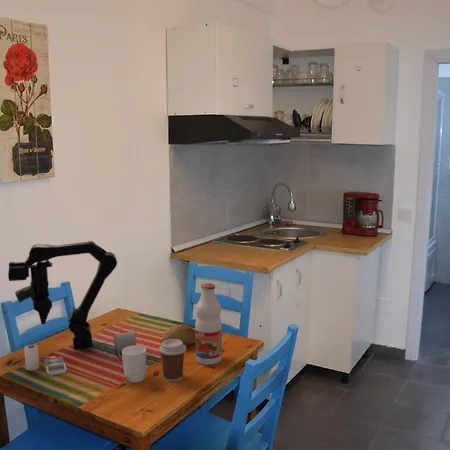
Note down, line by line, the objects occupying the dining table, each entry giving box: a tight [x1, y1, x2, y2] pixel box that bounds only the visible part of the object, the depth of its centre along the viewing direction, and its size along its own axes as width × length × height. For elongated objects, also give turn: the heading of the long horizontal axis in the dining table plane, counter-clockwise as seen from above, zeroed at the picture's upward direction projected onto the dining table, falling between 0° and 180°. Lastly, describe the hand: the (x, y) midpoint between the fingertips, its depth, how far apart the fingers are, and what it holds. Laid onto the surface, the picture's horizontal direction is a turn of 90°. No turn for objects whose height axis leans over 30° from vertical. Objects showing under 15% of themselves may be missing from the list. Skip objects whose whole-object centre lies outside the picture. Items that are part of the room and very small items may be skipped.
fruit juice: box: [194, 282, 223, 366], centre depth 193 cm, size 9×9×28 cm
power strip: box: [43, 355, 68, 377], centre depth 187 cm, size 15×6×2 cm, turn 23°
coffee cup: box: [158, 339, 187, 382], centre depth 181 cm, size 9×9×12 cm
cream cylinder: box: [24, 344, 40, 372], centre depth 185 cm, size 4×4×9 cm
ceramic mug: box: [113, 330, 137, 360], centre depth 200 cm, size 11×8×8 cm
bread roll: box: [160, 324, 196, 346], centre depth 208 cm, size 10×15×8 cm, turn 117°
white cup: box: [121, 345, 147, 384], centre depth 180 cm, size 8×8×10 cm
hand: (42, 320), depth 199 cm, fingers open, 9 cm apart
